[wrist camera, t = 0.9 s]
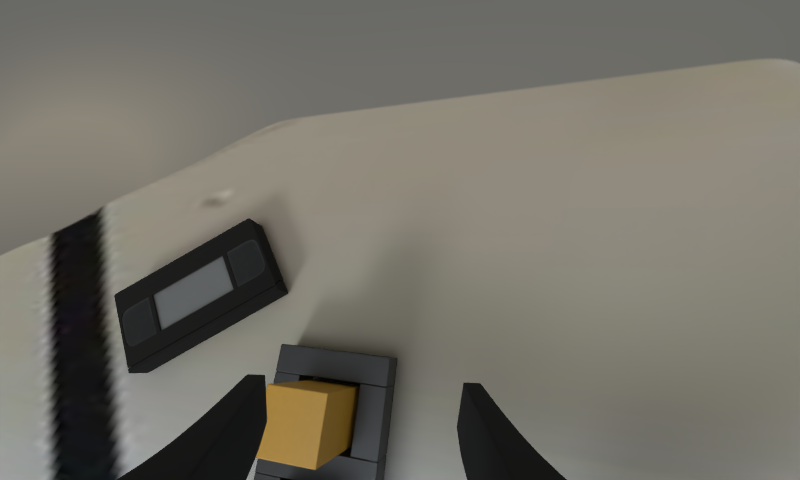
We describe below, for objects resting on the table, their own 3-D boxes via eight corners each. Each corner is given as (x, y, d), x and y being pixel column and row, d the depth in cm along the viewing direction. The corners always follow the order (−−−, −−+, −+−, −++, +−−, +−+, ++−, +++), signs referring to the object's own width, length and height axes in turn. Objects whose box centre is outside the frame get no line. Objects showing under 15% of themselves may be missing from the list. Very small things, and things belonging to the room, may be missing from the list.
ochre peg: (356, 443, 27) (315, 470, 20) (307, 434, 28) (251, 457, 21) (364, 385, 28) (328, 393, 22) (316, 379, 29) (267, 383, 22)
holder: (369, 602, 24) (358, 627, 22) (252, 569, 26) (230, 589, 24) (397, 358, 29) (390, 357, 26) (296, 345, 31) (281, 343, 28)
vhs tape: (133, 298, 35) (114, 295, 33) (262, 225, 35) (250, 217, 33) (148, 372, 32) (128, 373, 31) (288, 293, 32) (277, 289, 30)
